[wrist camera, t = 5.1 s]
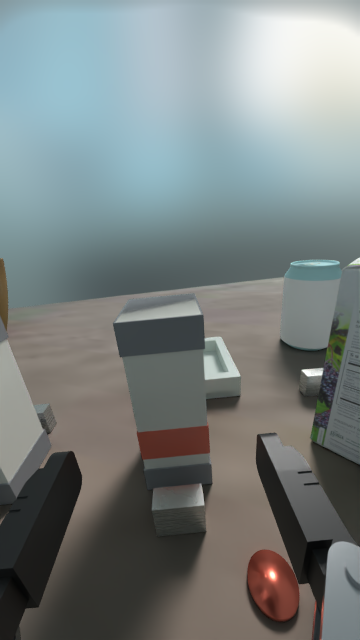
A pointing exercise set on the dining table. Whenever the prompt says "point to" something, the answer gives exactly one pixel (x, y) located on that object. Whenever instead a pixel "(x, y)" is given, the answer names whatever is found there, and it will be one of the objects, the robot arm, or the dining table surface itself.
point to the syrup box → (342, 374)
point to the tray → (220, 370)
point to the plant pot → (3, 295)
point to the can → (309, 303)
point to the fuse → (17, 428)
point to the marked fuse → (167, 387)
